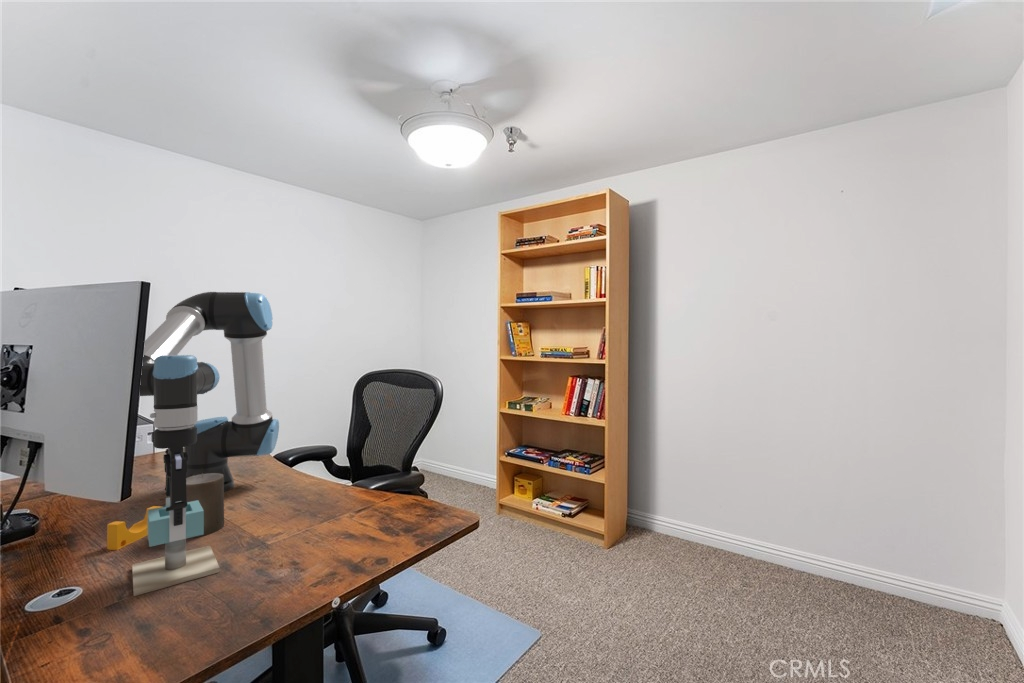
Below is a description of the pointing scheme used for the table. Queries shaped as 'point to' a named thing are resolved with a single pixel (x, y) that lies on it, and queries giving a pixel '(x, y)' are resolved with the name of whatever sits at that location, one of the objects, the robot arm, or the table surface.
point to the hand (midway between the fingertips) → (175, 532)
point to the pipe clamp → (126, 532)
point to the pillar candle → (208, 499)
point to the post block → (173, 567)
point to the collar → (160, 523)
